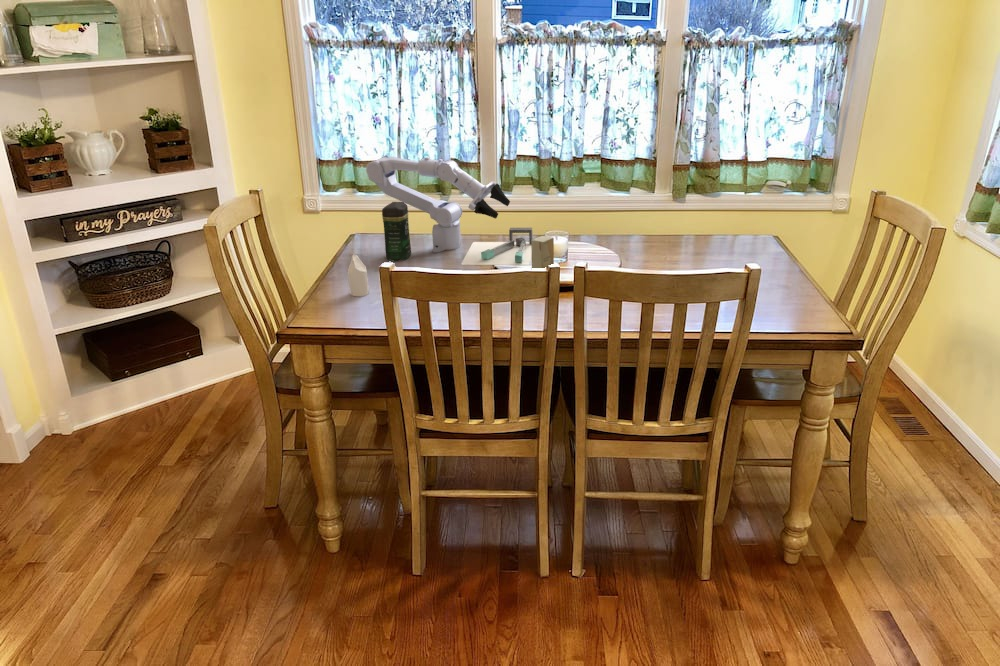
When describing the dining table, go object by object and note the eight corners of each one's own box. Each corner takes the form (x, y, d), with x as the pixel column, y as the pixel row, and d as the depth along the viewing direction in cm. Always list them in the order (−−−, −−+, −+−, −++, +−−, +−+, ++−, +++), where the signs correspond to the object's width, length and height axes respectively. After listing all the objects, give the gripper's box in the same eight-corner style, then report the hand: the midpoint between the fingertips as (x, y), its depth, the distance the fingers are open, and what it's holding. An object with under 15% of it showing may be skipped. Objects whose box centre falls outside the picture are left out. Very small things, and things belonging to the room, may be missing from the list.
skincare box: (543, 281, 238) (542, 242, 234) (531, 278, 241) (530, 240, 236) (554, 275, 243) (554, 236, 238) (543, 272, 246) (542, 234, 241)
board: (461, 268, 253) (460, 264, 252) (473, 245, 276) (473, 241, 275) (529, 268, 250) (529, 264, 249) (536, 245, 273) (536, 241, 272)
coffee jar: (406, 262, 261) (401, 207, 254) (383, 261, 262) (378, 207, 255) (414, 253, 270) (409, 199, 262) (392, 253, 271) (387, 199, 264)
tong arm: (510, 245, 269) (510, 239, 268) (515, 246, 267) (515, 240, 267) (481, 258, 256) (481, 252, 256) (486, 259, 255) (486, 253, 254)
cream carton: (361, 257, 227) (342, 258, 228) (366, 296, 232) (347, 296, 233) (367, 251, 233) (348, 251, 233) (371, 289, 238) (353, 289, 238)
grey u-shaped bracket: (510, 241, 273) (510, 227, 271) (532, 241, 272) (532, 227, 270) (509, 243, 271) (509, 230, 269) (531, 243, 270) (531, 230, 268)
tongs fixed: (516, 244, 271) (516, 237, 270) (528, 244, 270) (527, 237, 269) (509, 262, 252) (509, 255, 251) (522, 262, 252) (521, 255, 251)
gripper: (461, 189, 253) (495, 214, 252) (484, 166, 261) (517, 190, 260) (455, 203, 259) (488, 227, 258) (478, 180, 267) (511, 204, 266)
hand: (503, 210), depth 259 cm, fingers open, 7 cm apart
